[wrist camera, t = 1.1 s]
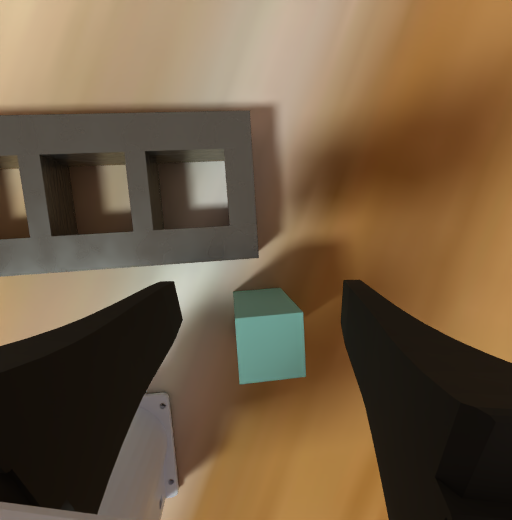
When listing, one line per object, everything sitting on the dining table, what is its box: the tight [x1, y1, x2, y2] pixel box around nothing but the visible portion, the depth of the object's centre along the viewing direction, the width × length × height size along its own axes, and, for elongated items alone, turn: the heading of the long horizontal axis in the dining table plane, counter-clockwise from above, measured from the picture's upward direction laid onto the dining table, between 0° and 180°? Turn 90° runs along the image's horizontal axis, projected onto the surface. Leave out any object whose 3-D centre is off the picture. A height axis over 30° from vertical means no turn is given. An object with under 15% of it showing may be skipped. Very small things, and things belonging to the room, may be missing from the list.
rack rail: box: [0, 111, 259, 277], centre depth 18 cm, size 10×22×3 cm, turn 94°
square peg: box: [233, 288, 306, 384], centre depth 19 cm, size 4×4×7 cm
